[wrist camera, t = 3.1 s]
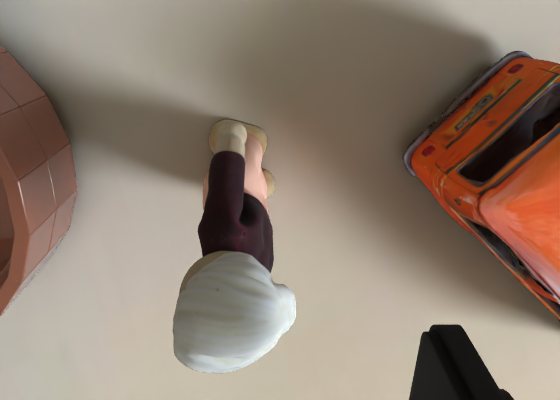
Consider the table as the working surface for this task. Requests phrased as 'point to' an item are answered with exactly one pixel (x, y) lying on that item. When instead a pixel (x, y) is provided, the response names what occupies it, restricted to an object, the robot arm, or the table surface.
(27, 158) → the bowl
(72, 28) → the table surface
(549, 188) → the toy bus
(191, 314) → the grandmother figurine
